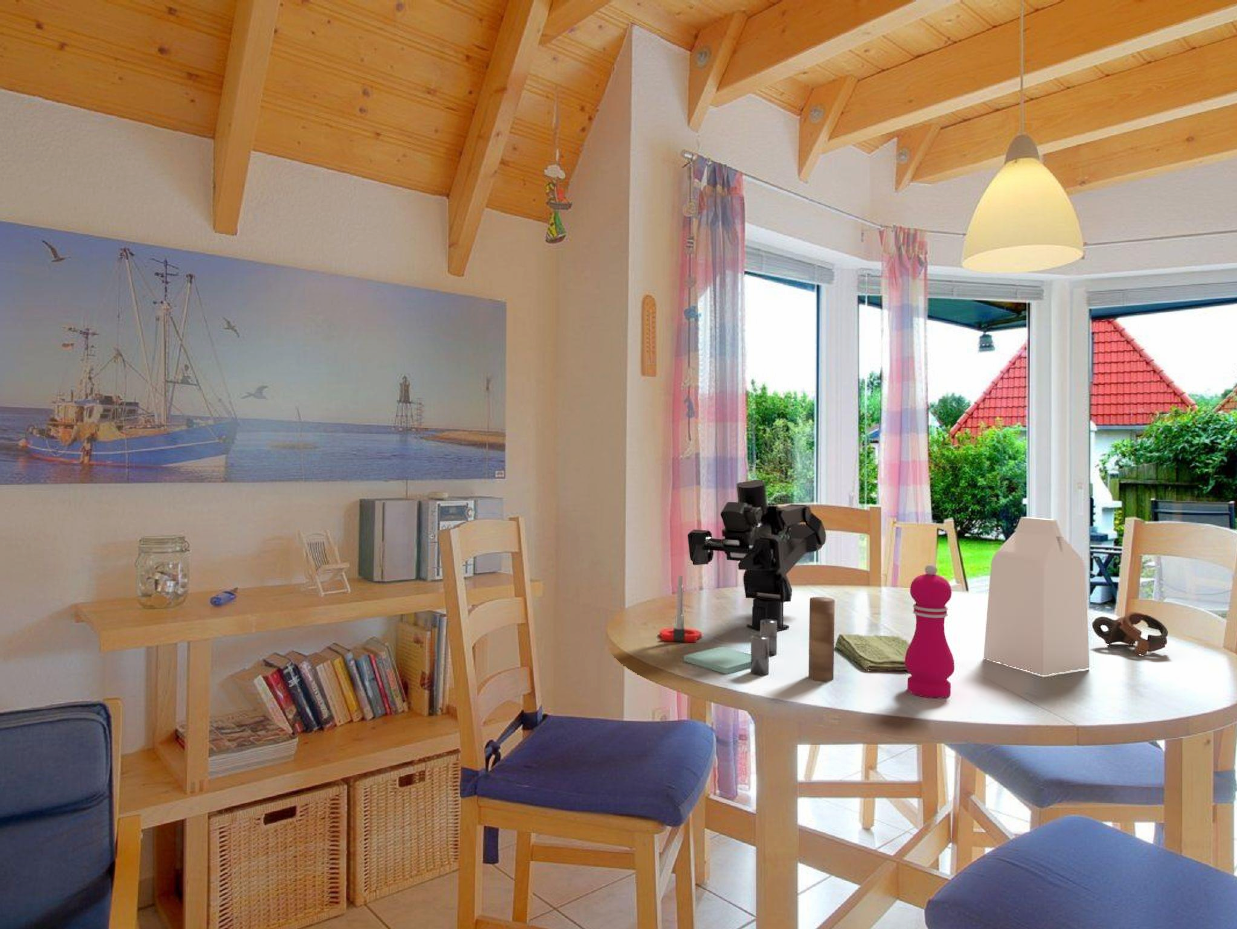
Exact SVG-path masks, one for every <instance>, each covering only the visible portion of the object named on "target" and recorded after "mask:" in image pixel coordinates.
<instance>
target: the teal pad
mask: <svg viewBox="0 0 1237 929" xmlns="http://www.w3.org/2000/svg"><path fill="white" fill-rule="evenodd" d="M683 661H684V662H686V663H688V664H693V665H696V666H697V667H702V668H705V669H709V670H712V671H715V672H719V673H722V674H725V675H728V674H732V673H735V672H739V670H740V671H744V670H747V669H751V653H747V652H744V651H739V650H736V649H734V648H729V647H725V646H719V647H714V648H710V649H706V650H701V651H697V652H692V653H689V654H685V655H683Z"/></svg>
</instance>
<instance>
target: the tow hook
mask: <svg viewBox="0 0 1237 929" xmlns="http://www.w3.org/2000/svg"><path fill="white" fill-rule="evenodd" d="M677 580H678V584H677V585H678V586H676V587H677V588H676V614H675V618H674V619H675V621H674V623H675V626H674V627H673V628H663V629H662V630H660V631H659V636H660V637H661V638H662V639H661V640H662V642H674V643H693V644H694V643H697V640H698V639H701V638H702V634H703V633H702V632H701V630H697V629H693V628H685V627H684V626H685V625H684V624H685V616H684V615H683V613H684V586H683V575H678V579H677ZM671 633H672V634H671ZM686 633H687V634H686Z"/></svg>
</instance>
